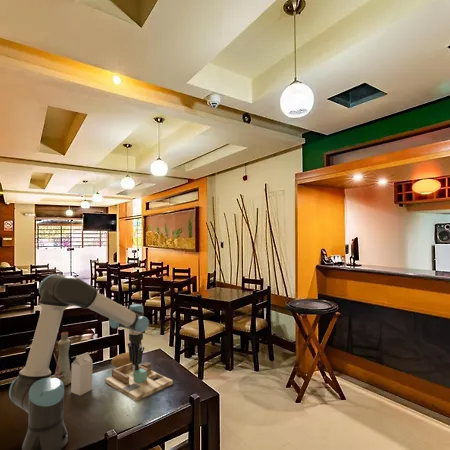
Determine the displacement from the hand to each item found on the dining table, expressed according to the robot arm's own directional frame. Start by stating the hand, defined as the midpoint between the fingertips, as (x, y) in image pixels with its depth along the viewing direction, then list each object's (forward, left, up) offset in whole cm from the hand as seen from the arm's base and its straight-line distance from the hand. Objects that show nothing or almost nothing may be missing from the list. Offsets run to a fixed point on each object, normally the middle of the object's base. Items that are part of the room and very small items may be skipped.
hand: (135, 375), depth 168 cm
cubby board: (0, -3, -4) cm, 4 cm away
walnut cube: (+9, +3, -2) cm, 10 cm away
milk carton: (-24, +12, -4) cm, 27 cm away
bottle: (-27, +28, -4) cm, 39 cm away
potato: (+6, +22, -4) cm, 23 cm away
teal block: (0, -4, -1) cm, 4 cm away
